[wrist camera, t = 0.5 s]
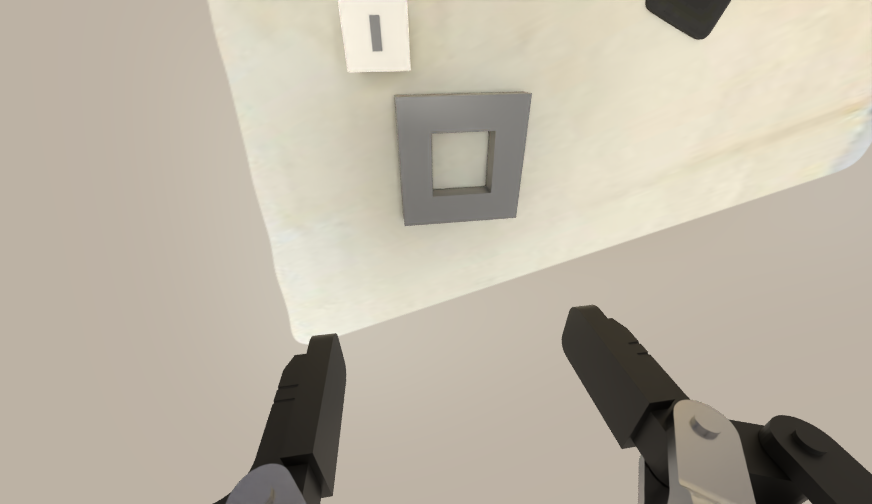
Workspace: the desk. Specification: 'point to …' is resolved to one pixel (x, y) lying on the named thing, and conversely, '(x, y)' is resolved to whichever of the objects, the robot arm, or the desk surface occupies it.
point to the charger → (375, 35)
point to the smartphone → (689, 14)
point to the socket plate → (453, 115)
